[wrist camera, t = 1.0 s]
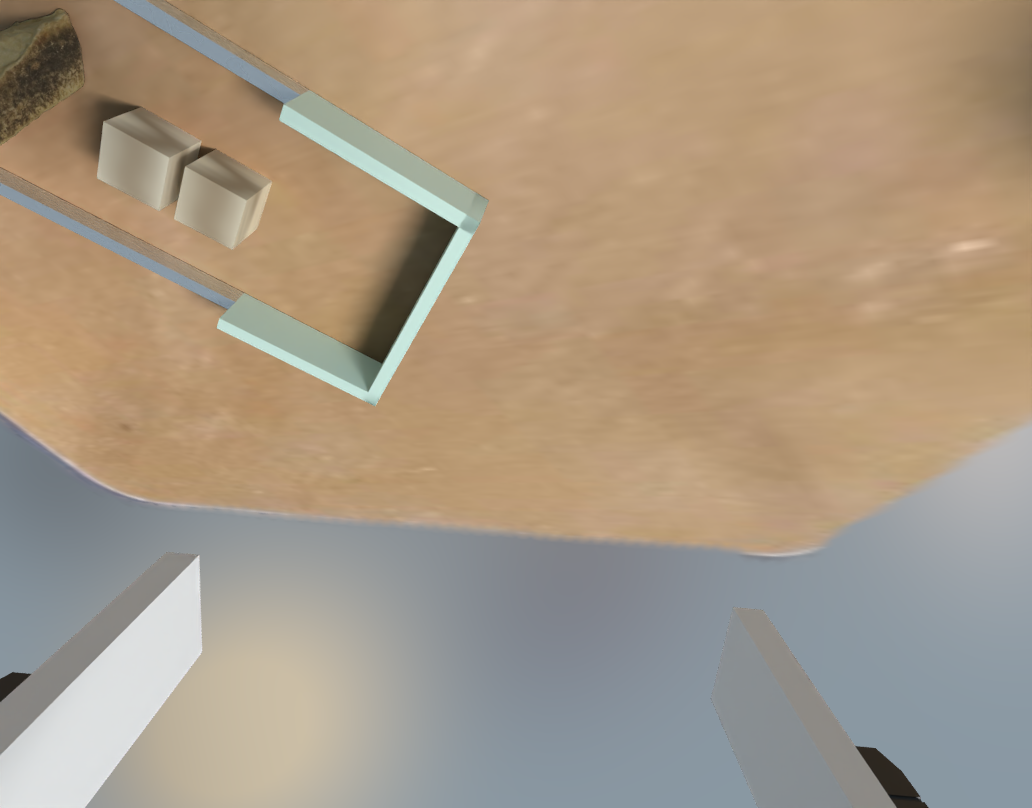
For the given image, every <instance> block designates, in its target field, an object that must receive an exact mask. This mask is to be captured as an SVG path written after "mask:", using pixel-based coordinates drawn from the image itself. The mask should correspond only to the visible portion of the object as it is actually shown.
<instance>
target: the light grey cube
mask: <svg viewBox="0 0 1032 808" xmlns="http://www.w3.org/2000/svg"><path fill="white" fill-rule="evenodd" d="M200 146H201V140H199V139H197V138H196V137H194V136H192V135H190V134H189V133H187V132H185V131H183V130H182V129H180V128H178V127H176V126H175V125H173V124H171V123H169V122H168V121H166V120H164V119H162V118H160V117H159V116H157V115H155V114H153V113H152V112H150V111H148V110H146V109H145V108H143V107H140V108H137V109H135V110H132V111H129V112H127V113H124V114H122V115H119V116H116V117H114V118H111V119H108V120H106V121H103V130H102V139H101V147H100V156H99V164H98V173H97V178H98V179H99V180H101V181H103V182H105V183H107V184H109V185H111V186H113V187H115V188H116V189H118V190H120V191H122V192H124V193H126V194H128V195H130V196H132V197H133V198H135V199H137V200H139V201H141V202H143V203H145V204H147V205H149V206H150V207H152V208H154V209H156V210H158V211H160V210H162V209H163V208H165V207H166V206H168V205H169V204H171V203H173V202H174V201H176V200H177V199H178V198H179V193H180V188H181V184H182V179H183V174H184V170H185V166H187V165H189V164H190V163H192V162H194V161H196V160H197V159H198V155H199V150H200Z"/></svg>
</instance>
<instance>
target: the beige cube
mask: <svg viewBox="0 0 1032 808" xmlns="http://www.w3.org/2000/svg"><path fill="white" fill-rule="evenodd" d="M271 184H272V181H271V180H270V179H268V178H266V177H264V176H263V175H261V174H259V173H257V172H256V171H254V170H252V169H250V168H248V167H247V166H245V165H243V164H241V163H240V162H238V161H236V160H234V159H233V158H231V157H229V156H227V155H226V154H224V153H222V152H220V151H219V150H217V149H215V150H213V151H212V152H210V153H208V154H206V155H205V156H203V157H201V158H199V159H198V160H196V161H194V162H192V163H190V164H189V165H187V166H185V170H184V174H183V179H182V184H181V188H180V193H179V198H178V203H177V207H176V212H175V217H174V219H175V220H177V221H179V222H181V223H183V224H185V225H186V226H188V227H190V228H192V229H194V230H196V231H198V232H200V233H202V234H203V235H205V236H207V237H209V238H211V239H213V240H215V241H217V242H218V243H220V244H222V245H224V246H226V247H228V248H230V249H232V250H233V249H234V248H235V247H236V246H237V245H239V244H240V243H241V242H242V241H243V240H244V239H246V238H247V237H248V236H249V235H250V234H251V233H252V232H254V231H255V230H256V229H257V228H258V225H259V222H260V219H261V216H262V213H263V209H264V206H265V203H266V200H267V197H268V193H269V190H270V187H271Z"/></svg>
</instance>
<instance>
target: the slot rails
mask: <svg viewBox="0 0 1032 808" xmlns="http://www.w3.org/2000/svg"><path fill="white" fill-rule="evenodd" d="M114 1H116V2H117V3H119V4H121V5H122V6H124V7H126V8H127V9H129V10H131V11H132V12H134V13H136V14H137V15H139V16H141V17H142V18H144V19H146V20H147V21H149V22H150V23H152V24H154V25H155V26H157V27H159V28H160V29H162V30H164V31H165V32H167V33H169V34H170V35H172V36H174V37H175V38H177V39H179V40H180V41H182V42H184V43H185V44H187V45H189V46H190V47H192V48H193V49H195V50H197V51H198V52H200V53H202V54H203V55H205V56H207V57H208V58H210V59H212V60H213V61H215V62H217V63H218V64H220V65H222V66H223V67H225V68H227V69H228V70H230V71H232V72H233V73H235V74H236V75H238V76H240V77H241V78H243V79H245V80H246V81H248V82H250V83H251V84H253V85H255V86H256V87H258V88H260V89H261V90H263V91H265V92H266V93H268V94H270V95H271V96H273V97H275V98H276V99H278V100H280V101H281V102H283V103H284V104H285V103H287V102H289V101H291V100H292V99H294V98H296V97H298V96H300V95H302V94H303V93H305V92H307V91H309V89H307V88H305V87H304V86H302V85H301V84H299V83H297V82H296V81H294V80H292V79H291V78H289V77H288V76H286V75H284V74H283V73H281V72H280V71H278V70H276V69H275V68H273V67H271V66H270V65H268V64H267V63H265V62H263V61H262V60H260V59H258V58H257V57H255V56H254V55H252V54H250V53H249V52H247V51H246V50H244V49H242V48H241V47H239V46H237V45H236V44H234V43H233V42H231V41H229V40H228V39H226V38H224V37H223V36H221V35H220V34H218V33H216V32H215V31H213V30H211V29H210V28H208V27H207V26H205V25H203V24H202V23H200V22H199V21H197V20H195V19H194V18H192V17H190V16H189V15H187V14H186V13H184V12H182V11H181V10H179V9H177V8H176V7H174V6H173V5H171V4H169V3H168V2H166V1H164V0H114ZM0 195H2V196H4V197H6V198H8V199H10V200H12V201H14V202H16V203H18V204H20V205H22V206H24V207H26V208H28V209H30V210H32V211H34V212H36V213H38V214H40V215H42V216H44V217H46V218H48V219H50V220H52V221H54V222H56V223H57V224H59V225H61V226H63V227H65V228H67V229H69V230H71V231H73V232H75V233H77V234H79V235H81V236H83V237H85V238H87V239H89V240H91V241H93V242H95V243H97V244H99V245H101V246H103V247H105V248H107V249H109V250H111V251H113V252H115V253H117V254H119V255H121V256H123V257H125V258H127V259H129V260H131V261H133V262H135V263H137V264H139V265H141V266H143V267H145V268H147V269H149V270H151V271H153V272H155V273H157V274H159V275H161V276H163V277H165V278H167V279H169V280H171V281H173V282H175V283H177V284H179V285H181V286H183V287H185V288H187V289H189V290H191V291H193V292H195V293H197V294H199V295H201V296H203V297H205V298H207V299H208V300H210V301H212V302H214V303H216V304H218V305H220V306H222V307H224V308H226V309H229V308H230V307H231V306H232V305H233V304H234V303H235V302H236V301H237V300H238V299H239V298H240V297H241V296H242V295H243V294H244V293H243V292H241V291H239V290H238V289H236V288H234V287H232V286H230V285H228V284H226V283H224V282H222V281H220V280H218V279H216V278H214V277H212V276H210V275H208V274H206V273H204V272H203V271H201V270H199V269H197V268H195V267H193V266H191V265H189V264H187V263H185V262H183V261H181V260H179V259H177V258H175V257H173V256H171V255H169V254H167V253H166V252H164V251H162V250H160V249H158V248H156V247H154V246H152V245H150V244H148V243H146V242H144V241H142V240H140V239H138V238H136V237H134V236H132V235H130V234H129V233H127V232H125V231H123V230H121V229H119V228H117V227H115V226H113V225H111V224H109V223H107V222H105V221H103V220H101V219H99V218H97V217H95V216H94V215H92V214H90V213H88V212H86V211H84V210H82V209H80V208H78V207H76V206H74V205H72V204H70V203H68V202H66V201H64V200H62V199H60V198H58V197H57V196H55V195H53V194H51V193H49V192H47V191H45V190H43V189H41V188H39V187H37V186H35V185H33V184H31V183H29V182H27V181H25V180H23V179H21V178H20V177H18V176H16V175H14V174H12V173H10V172H8V171H6V170H4V169H2V168H0Z"/></svg>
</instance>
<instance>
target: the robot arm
mask: <svg viewBox="0 0 1032 808" xmlns="http://www.w3.org/2000/svg"><path fill="white" fill-rule="evenodd" d="M199 569H200V568H199V555H194V554H183V553H173V552H166V553H165V554H164V555H163V556H162V557H161V558H160V559H158V560H157V562H155V563H154V564H153V565H152V566H151V567H150V568H149V569H147V570H146V571H145V572H144V573H143V574H142V575H141V576H140V577H139V578H137V579H136V580H135V581H134V582H133V583H132V584H131V585H130V586H129V587H128V588H126V589H125V590H124V591H123V592H122V593H121V594H120V595H119V596H118V597H116V598H115V599H114V600H113V601H112V602H111V603H110V604H109V605H108V606H106V607H105V608H104V609H103V610H102V611H101V612H100V613H99V614H98V615H96V616H95V617H94V618H93V619H92V620H91V621H90V622H89V623H88V624H87V625H85V626H84V627H83V628H82V629H81V630H80V631H79V632H78V633H77V634H75V635H74V636H73V637H72V638H71V639H70V640H69V641H68V642H67V643H66V644H65V645H63V646H62V647H61V648H60V649H59V650H58V651H57V652H56V653H55V654H53V655H52V656H51V657H50V658H49V659H48V660H47V661H46V662H44V663H43V664H42V665H41V666H40V667H39V668H38V669H37V670H36V671H35V672H34V673H33V674H25V673H14V672H12V673H10V674H9V675H7V676H5V677H3V678H1V679H0V808H85V807H86V805H87V804H88V803H89V801H90V800H91V799H92V797H93V796H94V795H95V794H96V792H97V791H98V790H99V788H100V787H101V786H102V784H103V783H104V782H105V780H106V779H107V778H108V776H109V775H110V774H111V772H112V771H113V770H114V768H115V767H116V765H117V764H118V763H119V762H120V760H121V759H122V758H123V756H124V755H125V754H126V752H127V751H128V750H129V748H130V747H131V746H132V744H133V743H134V741H135V740H136V739H137V738H138V736H139V735H140V734H141V732H142V731H143V730H144V728H145V727H146V726H147V724H148V723H149V722H150V720H151V719H152V718H153V717H154V715H155V714H156V712H157V711H158V710H159V709H160V707H161V706H162V705H163V703H164V702H165V701H166V699H167V698H168V696H169V695H170V694H171V693H172V691H173V690H174V689H175V687H176V686H177V685H178V683H179V682H180V681H181V679H182V678H183V677H184V675H185V674H186V673H187V671H188V670H189V669H190V667H191V666H192V665H193V663H194V662H195V661H196V659H197V658H198V657H199V655H200V654H201V653H202V637H201V635H202V634H201V600H200V570H199ZM711 700H712V703H713V705H714V707H715V710H716V712H717V714H718V717H719V719H720V721H721V724H722V726H723V728H724V730H725V733H726V735H727V737H728V740H729V742H730V744H731V747H732V749H733V751H734V753H735V756H736V758H737V761H738V763H739V765H740V767H741V770H742V772H743V774H744V777H745V779H746V781H747V784H748V786H749V788H750V790H751V793H752V795H753V798H754V800H755V802H756V805H757V807H758V808H928V807H927V805H926V804H925V802H921V797H920V796H919V794H918V793H917V792H916V790H915V789H914V787H913V786H912V785H911V783H910V782H909V781H908V779H907V778H906V776H905V775H904V774H903V772H902V771H901V770H900V769H899V768H897V767H896V766H895V765H894V764H893V763H892V762H891V761H889V760H888V759H887V758H886V757H885V756H884V755H883V754H881V753H880V752H879V751H878V750H877V749H876V748H869V747H857V746H855V745H854V744H853V742H852V741H851V739H850V738H849V736H848V735H847V733H846V732H845V731H844V729H843V728H842V726H841V725H840V723H839V722H838V720H837V719H836V717H835V716H834V714H833V713H832V711H831V710H830V708H829V707H828V705H827V704H826V703H825V701H824V699H823V698H822V697H821V695H820V694H819V692H818V691H817V689H816V688H815V686H814V685H813V683H812V682H811V680H810V679H809V677H808V676H807V674H806V673H805V671H804V670H803V669H802V667H801V665H800V664H799V663H798V661H797V660H796V658H795V657H794V655H793V654H792V652H791V651H790V649H789V648H788V646H787V645H786V643H785V642H784V640H783V639H782V637H781V636H780V634H779V633H778V631H777V630H776V629H775V627H774V626H773V624H772V623H771V621H770V620H769V618H768V617H767V615H766V614H765V612H764V611H763V610H757V609H756V610H755V609H746V608H736V607H733V609H732V613H731V617H730V622H729V626H728V630H727V634H726V638H725V642H724V646H723V650H722V655H721V659H720V663H719V667H718V672H717V675H716V679H715V684H714V688H713V692H712V696H711Z"/></svg>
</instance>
